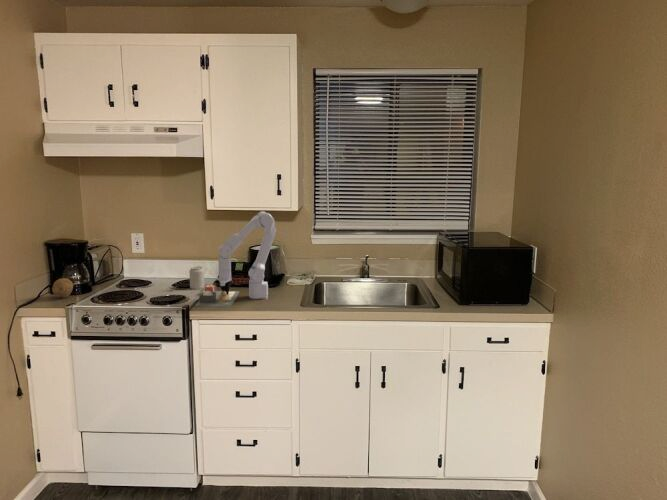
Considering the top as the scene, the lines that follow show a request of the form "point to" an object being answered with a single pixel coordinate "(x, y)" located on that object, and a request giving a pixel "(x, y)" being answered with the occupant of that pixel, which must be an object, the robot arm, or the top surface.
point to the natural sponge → (62, 287)
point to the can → (196, 277)
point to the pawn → (223, 297)
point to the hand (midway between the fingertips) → (225, 296)
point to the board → (216, 299)
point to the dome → (207, 293)
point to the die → (209, 288)
